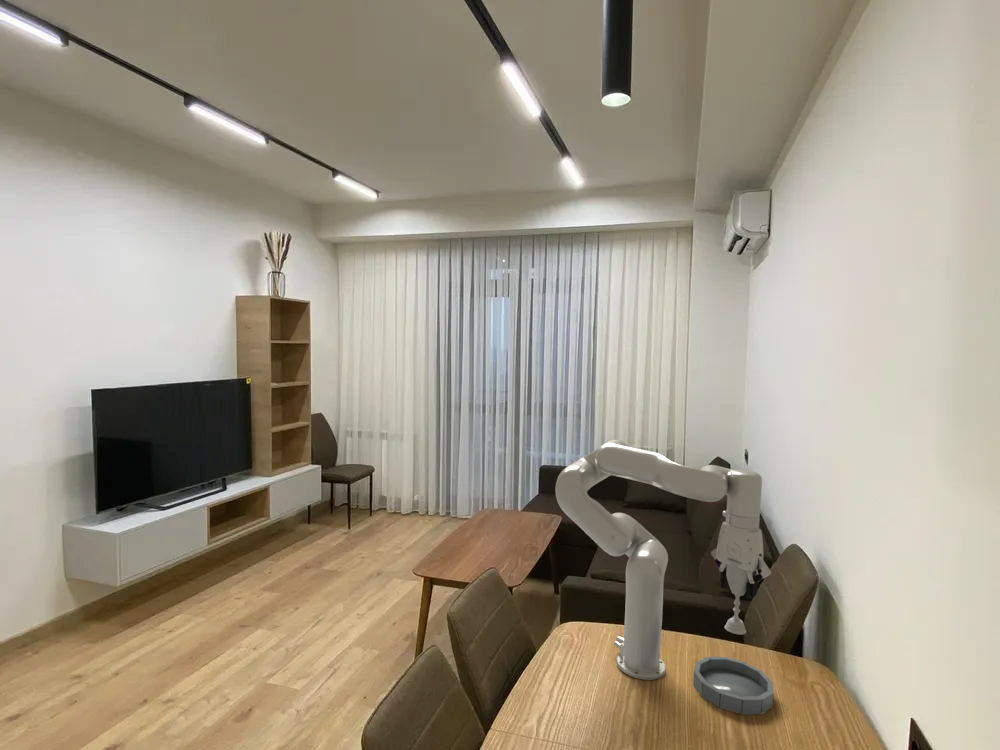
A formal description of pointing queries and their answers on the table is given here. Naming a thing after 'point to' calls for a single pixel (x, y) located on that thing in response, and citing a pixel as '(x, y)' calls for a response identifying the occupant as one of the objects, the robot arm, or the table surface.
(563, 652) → the table surface
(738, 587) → the chalice
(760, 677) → the bowl
